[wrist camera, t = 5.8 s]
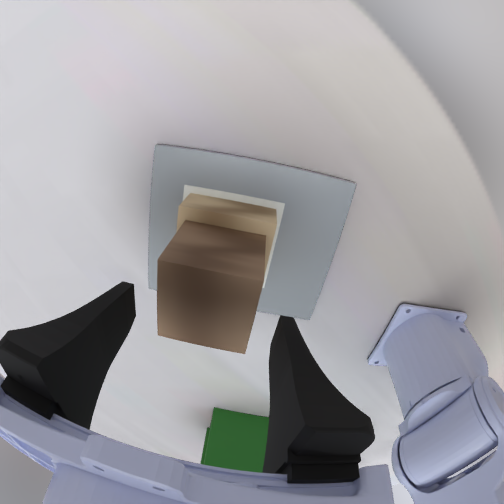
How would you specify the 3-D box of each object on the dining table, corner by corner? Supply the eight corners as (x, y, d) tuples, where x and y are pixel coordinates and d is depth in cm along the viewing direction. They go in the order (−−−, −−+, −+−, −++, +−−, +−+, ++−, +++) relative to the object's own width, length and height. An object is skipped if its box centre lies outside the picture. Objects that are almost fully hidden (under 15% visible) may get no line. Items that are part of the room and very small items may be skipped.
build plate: (354, 182, 19) (357, 184, 18) (308, 315, 25) (309, 320, 24) (158, 144, 19) (154, 145, 18) (150, 284, 24) (148, 289, 24)
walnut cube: (266, 235, 18) (263, 281, 13) (250, 300, 20) (244, 354, 15) (185, 220, 17) (157, 259, 13) (180, 286, 20) (157, 335, 15)
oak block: (276, 209, 20) (277, 224, 17) (259, 281, 22) (257, 303, 20) (190, 192, 19) (178, 205, 17) (183, 266, 22) (173, 286, 20)
